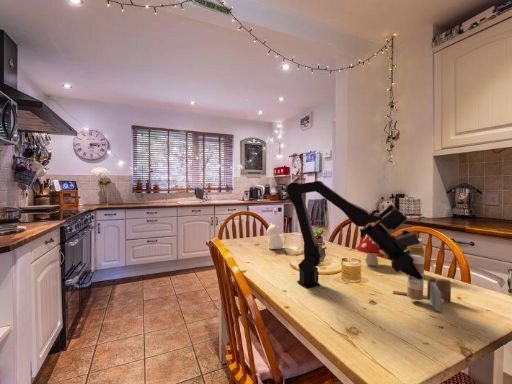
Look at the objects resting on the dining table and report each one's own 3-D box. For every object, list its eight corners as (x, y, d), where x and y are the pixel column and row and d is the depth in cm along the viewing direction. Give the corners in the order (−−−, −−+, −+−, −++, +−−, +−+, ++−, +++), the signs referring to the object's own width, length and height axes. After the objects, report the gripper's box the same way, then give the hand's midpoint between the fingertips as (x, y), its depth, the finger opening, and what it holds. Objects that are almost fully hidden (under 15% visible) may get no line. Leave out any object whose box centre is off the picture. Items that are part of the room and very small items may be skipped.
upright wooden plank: (448, 300, 83) (449, 279, 83) (450, 302, 81) (451, 281, 81) (392, 291, 90) (393, 272, 90) (393, 293, 88) (393, 274, 88)
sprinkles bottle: (403, 296, 83) (404, 255, 82) (412, 293, 85) (413, 253, 84) (418, 302, 79) (419, 259, 78) (426, 299, 81) (427, 257, 80)
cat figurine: (263, 248, 153) (263, 223, 152) (281, 245, 158) (281, 221, 158) (271, 251, 145) (270, 225, 144) (289, 248, 150) (289, 223, 149)
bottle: (422, 272, 109) (422, 238, 108) (425, 278, 103) (425, 241, 102) (403, 270, 112) (403, 236, 111) (405, 275, 105) (405, 239, 105)
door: (430, 298, 83) (430, 282, 83) (437, 300, 82) (438, 283, 82) (435, 310, 75) (436, 292, 75) (444, 312, 74) (444, 293, 74)
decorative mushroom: (395, 269, 113) (396, 236, 113) (367, 271, 111) (367, 237, 111) (376, 260, 127) (376, 230, 127) (350, 261, 125) (350, 231, 125)
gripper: (405, 227, 74) (451, 270, 70) (400, 219, 91) (436, 254, 87) (375, 250, 78) (416, 293, 73) (375, 239, 95) (408, 273, 90)
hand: (420, 276), depth 81 cm, fingers closed on sprinkles bottle, 4 cm apart
